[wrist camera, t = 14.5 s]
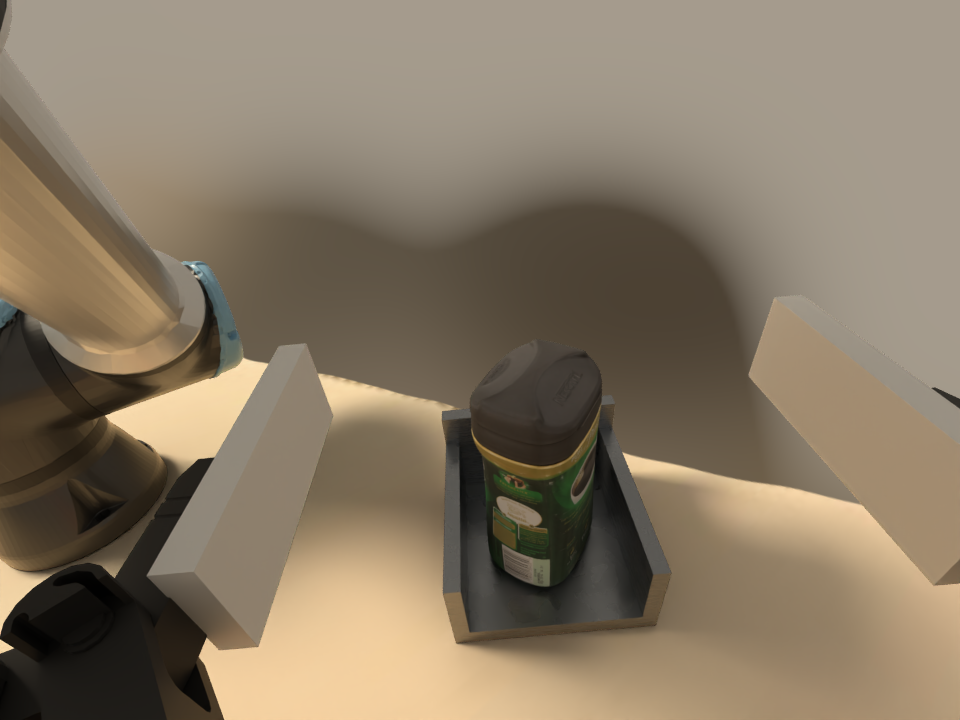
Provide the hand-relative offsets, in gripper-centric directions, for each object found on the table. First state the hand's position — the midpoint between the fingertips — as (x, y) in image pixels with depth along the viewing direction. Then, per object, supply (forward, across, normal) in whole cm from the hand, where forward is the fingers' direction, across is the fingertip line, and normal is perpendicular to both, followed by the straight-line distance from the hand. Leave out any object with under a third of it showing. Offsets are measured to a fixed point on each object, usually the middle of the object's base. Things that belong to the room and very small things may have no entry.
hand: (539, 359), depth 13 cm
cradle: (+12, +2, -30) cm, 32 cm away
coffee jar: (+12, +2, -28) cm, 31 cm away
